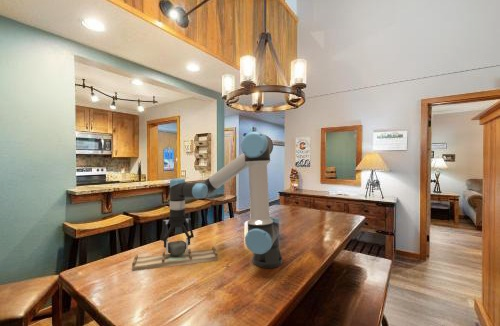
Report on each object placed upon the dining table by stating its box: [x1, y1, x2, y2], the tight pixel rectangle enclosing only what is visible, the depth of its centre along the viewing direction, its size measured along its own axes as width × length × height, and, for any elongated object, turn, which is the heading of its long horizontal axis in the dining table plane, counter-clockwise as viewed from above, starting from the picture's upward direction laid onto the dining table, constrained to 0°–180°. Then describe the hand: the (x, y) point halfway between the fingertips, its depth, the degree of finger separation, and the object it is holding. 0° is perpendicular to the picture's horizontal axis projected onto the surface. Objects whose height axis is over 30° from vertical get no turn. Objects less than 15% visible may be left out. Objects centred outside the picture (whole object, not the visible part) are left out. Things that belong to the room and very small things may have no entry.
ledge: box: [131, 246, 219, 272], centre depth 121 cm, size 11×40×4 cm, turn 108°
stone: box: [168, 240, 186, 255], centre depth 123 cm, size 9×9×10 cm
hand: (177, 252), depth 121 cm, fingers closed on stone, 9 cm apart
